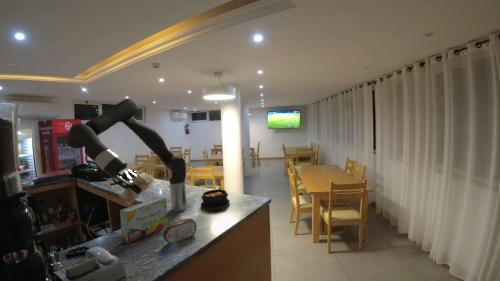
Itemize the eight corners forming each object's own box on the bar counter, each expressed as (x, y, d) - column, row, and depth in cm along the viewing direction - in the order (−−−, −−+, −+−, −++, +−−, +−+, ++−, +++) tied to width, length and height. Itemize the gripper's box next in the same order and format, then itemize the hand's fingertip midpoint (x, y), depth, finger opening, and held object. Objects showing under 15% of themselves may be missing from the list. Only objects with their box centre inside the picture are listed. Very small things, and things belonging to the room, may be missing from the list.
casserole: (233, 210, 130) (232, 196, 130) (201, 215, 126) (200, 201, 125) (226, 197, 154) (226, 185, 154) (200, 201, 150) (199, 189, 149)
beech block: (118, 196, 87) (138, 174, 86) (125, 192, 92) (144, 172, 91) (128, 204, 87) (148, 183, 86) (134, 200, 92) (153, 179, 91)
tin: (195, 232, 105) (194, 215, 104) (198, 234, 103) (196, 217, 102) (163, 244, 95) (162, 226, 95) (165, 247, 93) (164, 228, 92)
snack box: (129, 244, 97) (126, 211, 96) (122, 241, 100) (119, 209, 99) (168, 224, 115) (166, 197, 114) (161, 222, 118) (159, 195, 117)
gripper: (115, 166, 95) (145, 191, 96) (92, 173, 81) (127, 203, 82) (126, 153, 95) (156, 179, 96) (105, 159, 81) (140, 188, 82)
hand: (143, 190), depth 89 cm, fingers closed on beech block, 5 cm apart
